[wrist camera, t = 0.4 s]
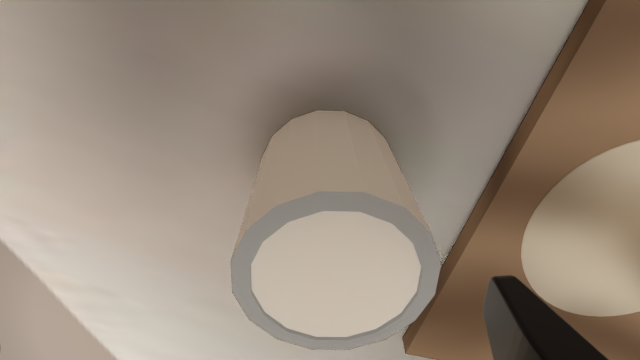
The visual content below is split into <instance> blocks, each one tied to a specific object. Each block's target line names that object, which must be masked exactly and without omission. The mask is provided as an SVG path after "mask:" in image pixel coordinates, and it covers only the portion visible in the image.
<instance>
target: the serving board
mask: <svg viewBox="0 0 640 360" xmlns="http://www.w3.org/2000/svg"><path fill="white" fill-rule="evenodd" d="M503 275H513V276H515V277H517V278H518V279H519V280H520V281H521V282H522V283H524V284H525V285H526V286H527V287H528V288H529V289H530V290H531V291H533V292H534V293H535V294H536V295H537V296H538V297H539V298H540V299H542V300H543V301H544V302H545V303H546V304H547V305H548V306H549V307H550V308H552V309H553V310H554V311H555V312H556V313H557V314H558V315H559V316H561V317H562V318H563V319H564V320H565V321H566V322H567V323H568V324H570V325H571V326H572V327H573V328H574V329H575V330H576V331H577V332H579V333H580V334H581V335H582V336H583V337H584V338H585V339H586V340H587V341H589V342H590V343H591V344H592V345H593V346H594V347H595V348H596V349H598V350H599V351H600V352H601V353H602V354H603V355H604V356H605V357H607V358H608V359H609V360H640V0H589V2H588V4H587V6H586V8H585V9H584V11H583V13H582V15H581V17H580V18H579V20H578V22H577V24H576V26H575V28H574V29H573V31H572V33H571V35H570V37H569V38H568V40H567V42H566V44H565V46H564V47H563V49H562V51H561V53H560V55H559V56H558V58H557V60H556V62H555V64H554V66H553V67H552V69H551V71H550V73H549V75H548V76H547V78H546V80H545V82H544V84H543V85H542V87H541V89H540V91H539V93H538V94H537V96H536V98H535V100H534V102H533V104H532V105H531V107H530V109H529V111H528V113H527V114H526V116H525V118H524V120H523V122H522V123H521V125H520V127H519V129H518V131H517V132H516V134H515V136H514V138H513V140H512V142H511V143H510V145H509V147H508V149H507V151H506V152H505V154H504V156H503V158H502V160H501V161H500V163H499V165H498V167H497V169H496V170H495V172H494V174H493V176H492V178H491V180H490V181H489V183H488V185H487V187H486V189H485V190H484V192H483V194H482V196H481V198H480V199H479V201H478V203H477V205H476V207H475V208H474V210H473V212H472V214H471V216H470V218H469V219H468V221H467V223H466V225H465V227H464V228H463V230H462V232H461V234H460V236H459V237H458V239H457V241H456V243H455V245H454V246H453V248H452V250H451V252H450V254H449V256H448V257H447V259H446V261H445V263H444V265H443V266H442V268H441V270H440V273H439V278H438V282H437V287H436V292H435V295H434V297H433V298H432V299H431V301H430V302H429V303H428V304H427V306H426V307H425V308H424V310H423V311H422V312H421V314H420V315H419V316H418V317H417V319H416V320H415V321H414V322H412V323H411V324H410V326H409V328H408V330H407V332H406V333H405V335H404V337H403V343H404V348H405V353H406V354H410V355H415V356H420V357H425V358H430V359H436V360H494V359H493V355H492V351H491V347H490V342H489V338H488V334H487V330H486V325H485V321H484V316H483V304H484V300H485V296H486V292H487V288H488V284H489V281H490V279H491V278H492V277H493V276H503Z"/></svg>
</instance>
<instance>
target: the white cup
mask: <svg viewBox="0 0 640 360" xmlns="http://www.w3.org/2000/svg"><path fill="white" fill-rule="evenodd" d="M440 268H441V261H440V258H439V255H438V252H437V249H436V246H435V243H434V240H433V237H432V234H431V231H430V229H429V227H428V225H427V223H426V221H425V219H424V217H423V215H422V213H421V211H420V209H419V207H418V205H417V203H416V201H415V199H414V197H413V195H412V193H411V190H410V188H409V186H408V184H407V182H406V180H405V178H404V176H403V174H402V172H401V170H400V168H399V166H398V164H397V162H396V160H395V158H394V156H393V154H392V152H391V150H390V147H389V145H388V143H387V141H386V139H385V138H384V137H383V136H382V135H381V134H380V133H379V132H378V131H377V130H376V129H375V128H374V127H373V126H372V125H371V124H370V122H369V121H367V120H364V119H362V118H359V117H357V116H355V115H352V114H350V113H347V112H345V111H322V110H316V111H314V112H311V113H308V114H305V115H302V116H299V117H296V118H293V119H291V120H290V121H289V122H288V123H286V124H285V125H284V126H283V127H282V128H281V129H279V130H278V131H277V132H276V133H275V134H274V135H273V136H272V137H271V140H270V142H269V144H268V146H267V148H266V150H265V152H264V154H263V157H262V160H261V163H260V166H259V169H258V173H257V176H256V179H255V183H254V186H253V189H252V192H251V196H250V199H249V202H248V206H247V209H246V212H245V216H244V219H243V222H242V225H241V229H240V232H239V235H238V239H237V242H236V245H235V248H234V252H233V255H232V258H231V277H232V293H233V294H234V296H235V298H236V299H237V301H238V303H239V304H240V306H241V307H242V309H243V311H244V312H245V314H246V316H247V317H248V319H249V320H250V321H252V322H253V323H255V324H256V325H257V326H259V327H260V328H262V329H263V330H265V331H266V332H267V333H269V334H270V335H272V336H273V337H275V338H276V339H278V340H282V341H285V342H288V343H292V344H295V345H299V346H302V347H305V348H309V349H344V350H349V349H353V348H356V347H360V346H364V345H367V344H371V343H375V342H379V341H382V340H385V339H387V338H388V337H390V336H392V335H393V334H395V333H396V332H398V331H400V330H401V329H403V328H404V327H406V326H408V325H409V324H411V323H412V322H414V321H415V320H416V319H417V317H418V316H419V315H420V314H421V312H422V311H423V310H424V308H425V307H426V306H427V304H428V303H429V302H430V301H431V299H432V298H433V297H434V295H435V292H436V287H437V282H438V278H439V273H440Z"/></svg>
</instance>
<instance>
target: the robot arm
mask: <svg viewBox="0 0 640 360" xmlns="http://www.w3.org/2000/svg"><path fill="white" fill-rule="evenodd" d="M483 316H484V321H485V325H486V330H487V334H488V338H489V342H490V347H491V351H492V355H493V359H494V360H609V359H608V358H607V357H605V356H604V355H603V354H602V353H601V352H600V351H599V350H598V349H596V348H595V347H594V346H593V345H592V344H591V343H590V342H589V341H587V340H586V339H585V338H584V337H583V336H582V335H581V334H580V333H579V332H577V331H576V330H575V329H574V328H573V327H572V326H571V325H570V324H568V323H567V322H566V321H565V320H564V319H563V318H562V317H561V316H559V315H558V314H557V313H556V312H555V311H554V310H553V309H552V308H550V307H549V306H548V305H547V304H546V303H545V302H544V301H543V300H542V299H540V298H539V297H538V296H537V295H536V294H535V293H534V292H533V291H531V290H530V289H529V288H528V287H527V286H526V285H525V284H524V283H522V282H521V281H520V280H519V279H518V278H517V277H515V276H513V275H503V276H493V277H492V278H491V279H490V281H489V284H488V288H487V292H486V296H485V300H484V304H483Z"/></svg>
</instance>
